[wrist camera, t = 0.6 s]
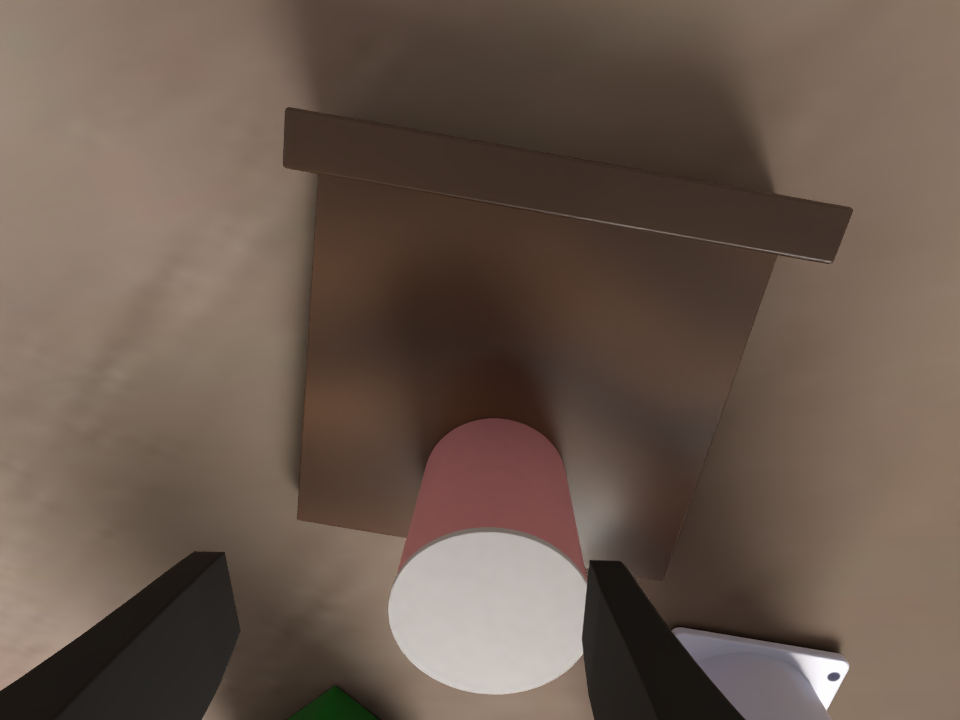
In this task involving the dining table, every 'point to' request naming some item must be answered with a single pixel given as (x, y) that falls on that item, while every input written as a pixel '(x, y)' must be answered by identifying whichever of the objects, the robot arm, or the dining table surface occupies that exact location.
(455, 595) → the yogurt pot
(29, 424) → the dining table surface
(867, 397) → the dining table surface
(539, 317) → the serving board
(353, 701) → the milk carton
